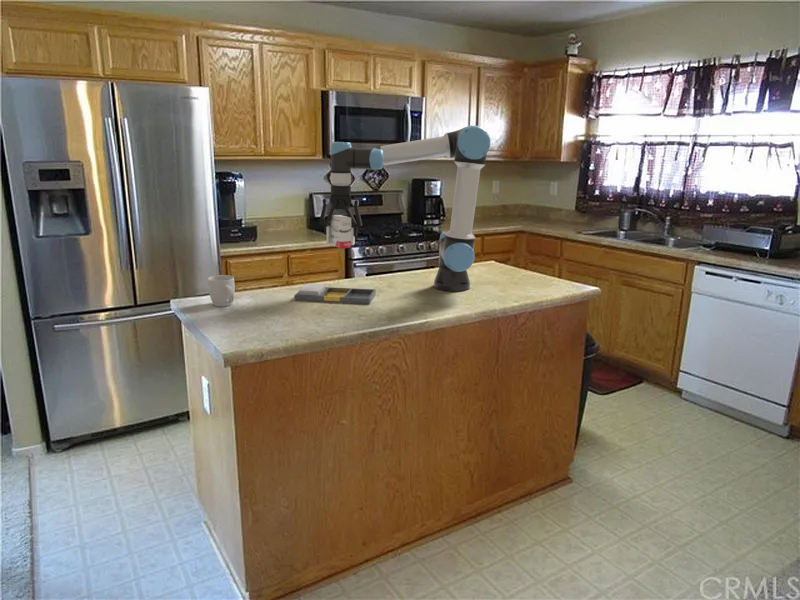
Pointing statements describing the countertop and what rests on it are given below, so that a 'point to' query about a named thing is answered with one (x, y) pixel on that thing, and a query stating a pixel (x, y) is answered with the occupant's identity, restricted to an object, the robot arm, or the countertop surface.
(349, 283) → the countertop surface
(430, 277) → the countertop surface
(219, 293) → the mug
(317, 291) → the panel
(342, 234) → the ink box
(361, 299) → the rack
